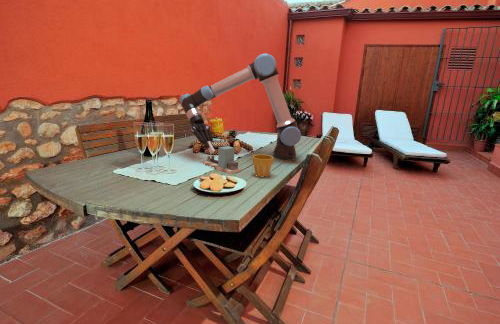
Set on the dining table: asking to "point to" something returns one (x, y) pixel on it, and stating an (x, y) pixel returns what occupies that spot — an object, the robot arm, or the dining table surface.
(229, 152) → the marker sleeve
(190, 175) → the dining table surface
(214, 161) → the cord board
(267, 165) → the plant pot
